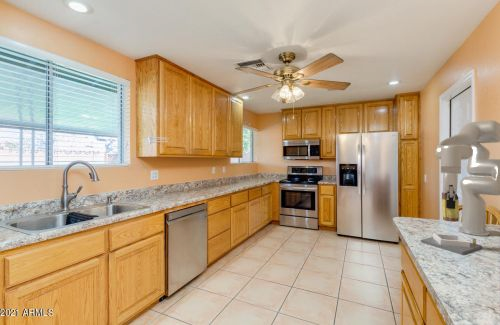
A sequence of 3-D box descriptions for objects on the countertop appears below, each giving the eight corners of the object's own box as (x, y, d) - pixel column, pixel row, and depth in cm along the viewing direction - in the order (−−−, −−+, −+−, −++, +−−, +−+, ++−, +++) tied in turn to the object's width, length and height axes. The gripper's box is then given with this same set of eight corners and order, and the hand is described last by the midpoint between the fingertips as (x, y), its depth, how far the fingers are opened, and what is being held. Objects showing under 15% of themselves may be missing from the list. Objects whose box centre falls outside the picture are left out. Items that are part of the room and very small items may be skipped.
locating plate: (440, 237, 126) (440, 229, 126) (482, 248, 111) (482, 239, 111) (420, 242, 119) (420, 233, 119) (461, 254, 104) (462, 245, 104)
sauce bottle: (462, 221, 112) (462, 180, 112) (452, 222, 111) (453, 180, 110) (447, 218, 119) (447, 178, 118) (438, 219, 117) (438, 179, 116)
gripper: (440, 169, 123) (440, 203, 124) (440, 171, 110) (440, 209, 110) (459, 169, 119) (459, 205, 119) (462, 171, 105) (462, 211, 106)
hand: (450, 206), depth 115 cm, fingers closed on sauce bottle, 6 cm apart
